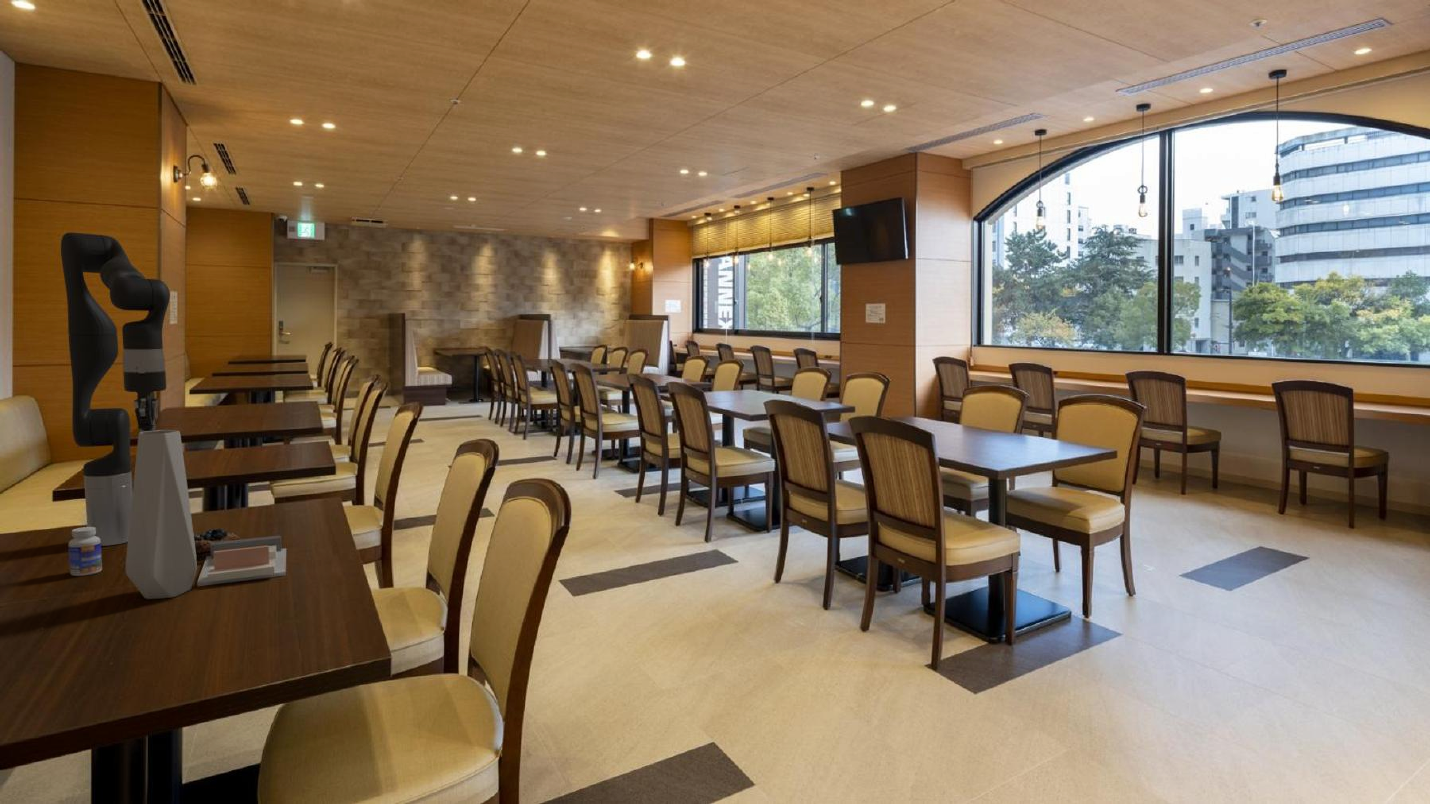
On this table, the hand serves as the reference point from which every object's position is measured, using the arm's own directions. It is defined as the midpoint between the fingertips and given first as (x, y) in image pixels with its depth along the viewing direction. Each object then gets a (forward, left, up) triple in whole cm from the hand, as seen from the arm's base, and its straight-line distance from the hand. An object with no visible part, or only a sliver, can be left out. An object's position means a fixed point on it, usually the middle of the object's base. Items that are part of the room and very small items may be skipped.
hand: (149, 446), depth 170 cm
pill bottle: (+1, -12, -27) cm, 30 cm away
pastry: (-5, +10, -27) cm, 29 cm away
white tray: (+12, +18, -27) cm, 34 cm away
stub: (+21, +18, -26) cm, 38 cm away
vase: (+24, +5, -27) cm, 36 cm away
